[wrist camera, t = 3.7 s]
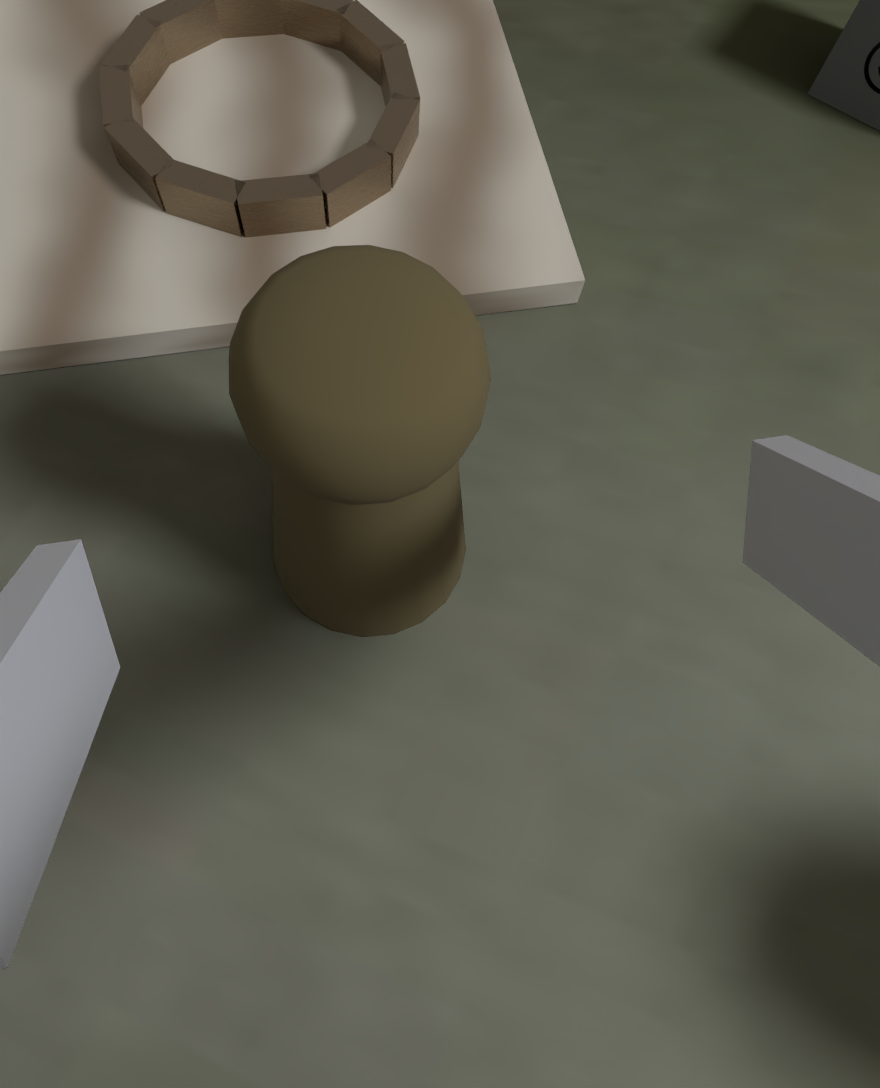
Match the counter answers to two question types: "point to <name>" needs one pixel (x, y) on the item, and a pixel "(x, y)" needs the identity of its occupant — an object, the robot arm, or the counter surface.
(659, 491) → the counter surface
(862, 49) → the dice cube
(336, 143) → the board
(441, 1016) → the counter surface
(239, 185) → the collar
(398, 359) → the cork
